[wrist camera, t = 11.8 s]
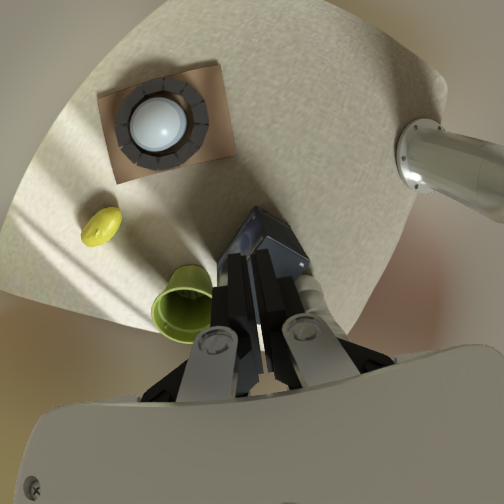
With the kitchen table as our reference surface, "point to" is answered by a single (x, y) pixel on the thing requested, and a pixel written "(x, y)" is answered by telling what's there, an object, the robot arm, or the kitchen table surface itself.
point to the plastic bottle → (317, 303)
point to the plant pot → (184, 305)
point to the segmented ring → (140, 96)
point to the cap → (158, 124)
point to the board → (218, 133)
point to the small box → (262, 237)
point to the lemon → (101, 227)
